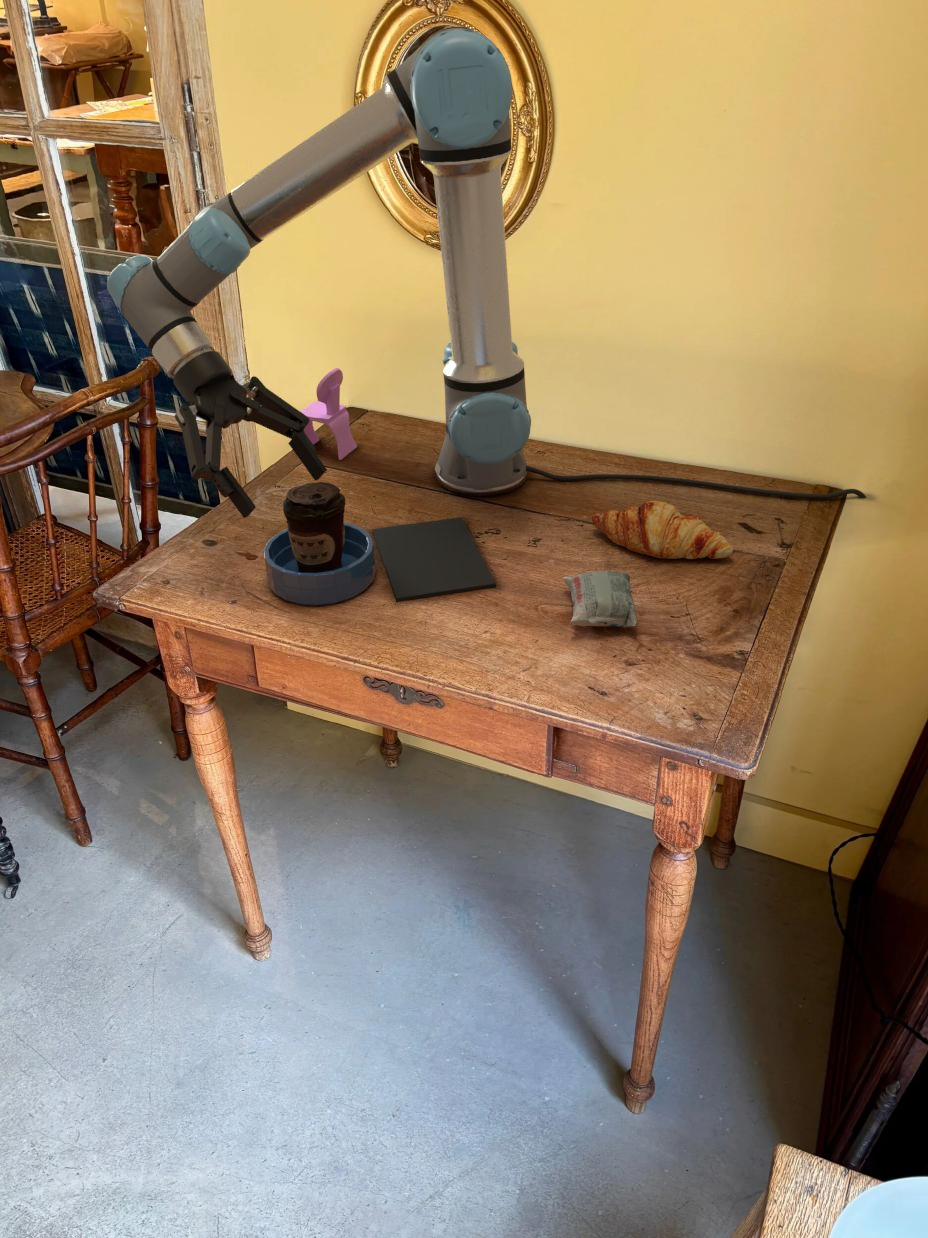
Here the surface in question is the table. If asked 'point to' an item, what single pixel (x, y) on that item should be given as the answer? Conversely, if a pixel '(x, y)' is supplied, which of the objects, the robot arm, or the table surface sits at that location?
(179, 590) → the table surface
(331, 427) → the toy chair
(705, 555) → the croissant
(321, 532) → the coffee cup
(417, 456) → the table surface
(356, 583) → the bowl
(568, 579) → the packaged food
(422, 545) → the mat
